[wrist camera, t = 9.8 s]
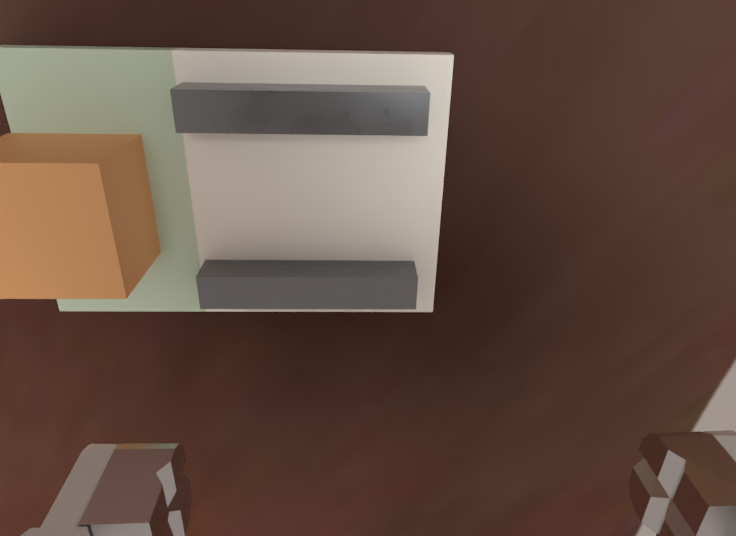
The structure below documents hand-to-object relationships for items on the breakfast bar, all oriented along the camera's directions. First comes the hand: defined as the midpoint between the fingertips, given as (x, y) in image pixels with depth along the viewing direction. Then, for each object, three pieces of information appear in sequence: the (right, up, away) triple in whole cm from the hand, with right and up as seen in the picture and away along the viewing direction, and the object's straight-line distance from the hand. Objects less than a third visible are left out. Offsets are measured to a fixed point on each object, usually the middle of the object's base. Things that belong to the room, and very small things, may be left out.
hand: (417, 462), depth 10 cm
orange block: (-12, +6, +13) cm, 19 cm away
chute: (-6, +7, +14) cm, 16 cm away
